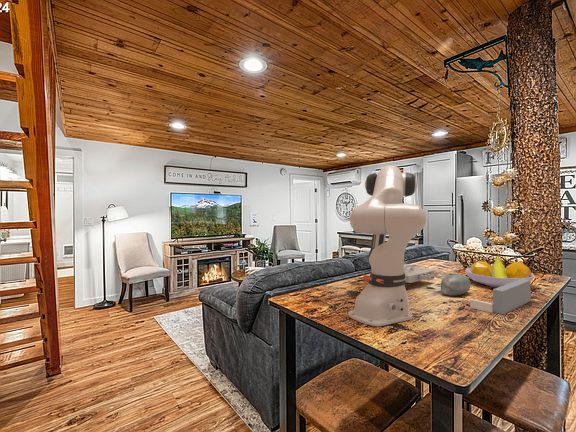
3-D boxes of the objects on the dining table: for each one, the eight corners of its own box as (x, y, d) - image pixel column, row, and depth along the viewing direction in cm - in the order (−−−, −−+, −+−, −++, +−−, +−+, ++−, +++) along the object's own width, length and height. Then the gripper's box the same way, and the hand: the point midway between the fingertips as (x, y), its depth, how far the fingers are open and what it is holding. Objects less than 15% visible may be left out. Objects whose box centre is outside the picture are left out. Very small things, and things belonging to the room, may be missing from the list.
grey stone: (453, 280, 132) (458, 264, 127) (472, 294, 125) (479, 277, 120) (432, 291, 127) (437, 275, 122) (451, 306, 120) (457, 289, 115)
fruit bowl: (525, 296, 118) (525, 268, 117) (455, 283, 139) (454, 260, 139) (544, 284, 134) (544, 259, 134) (478, 274, 156) (478, 253, 156)
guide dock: (501, 315, 98) (501, 291, 98) (470, 307, 106) (469, 285, 106) (531, 300, 112) (531, 279, 112) (502, 294, 121) (501, 275, 120)
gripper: (391, 269, 138) (418, 274, 126) (417, 264, 149) (444, 268, 137) (392, 282, 138) (418, 288, 126) (417, 276, 149) (444, 281, 137)
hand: (432, 278), depth 132 cm, fingers closed
